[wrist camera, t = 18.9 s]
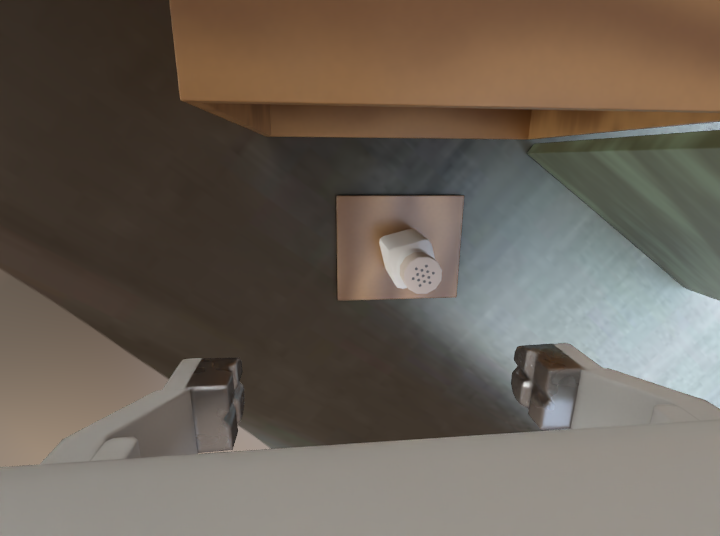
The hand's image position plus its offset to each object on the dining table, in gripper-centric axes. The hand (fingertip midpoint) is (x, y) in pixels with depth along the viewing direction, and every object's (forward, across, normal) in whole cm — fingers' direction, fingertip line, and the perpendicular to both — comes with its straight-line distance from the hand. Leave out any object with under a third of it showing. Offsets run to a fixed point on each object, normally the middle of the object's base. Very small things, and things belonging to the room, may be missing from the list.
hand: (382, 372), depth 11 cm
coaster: (+29, -6, +3) cm, 30 cm away
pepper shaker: (+29, -6, +3) cm, 30 cm away
